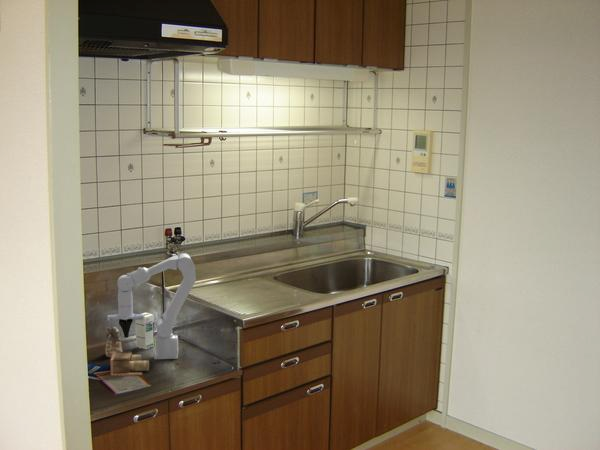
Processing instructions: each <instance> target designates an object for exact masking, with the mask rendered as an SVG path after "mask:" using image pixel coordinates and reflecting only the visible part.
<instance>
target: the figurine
mask: <svg viewBox="0 0 600 450" xmlns="http://www.w3.org/2000/svg"><path fill="white" fill-rule="evenodd" d="M106 330H107V333H106V339H107V341H106V344H105V352H104V353H105V356H106V357H108V358H112V355H113V353H114V352H124V351H123V350H124V349H123V346H122V341H121V339H122V333H121V332H120V330H119V328H117V327H116V326H113V327H112V328H110V327H109V326H108V327H107V328H106ZM109 335H110V336H109Z"/></svg>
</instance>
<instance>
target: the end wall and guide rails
mask: <svg viewBox="0 0 600 450" xmlns="http://www.w3.org/2000/svg"><path fill="white" fill-rule="evenodd" d="M115 354H116V352H114V353H113V355H112V357H110V363H109V364H110V375H111V374H113V375H114V376H113V375H112V376H113V377H127V376H129V377H130V376H131V377H132V376H143V372H130V373H114V370H113V359H114V357H115ZM117 375H118V376H117ZM120 375H121V376H120Z"/></svg>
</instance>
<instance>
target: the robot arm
mask: <svg viewBox="0 0 600 450" xmlns="http://www.w3.org/2000/svg"><path fill="white" fill-rule="evenodd" d="M166 270H174V271H177V270H179V271H180V272H181V275H182V277H183V279H181V282H180V284H179V286H178V288H177V290H176V292H174V296H173V297H172V298H171V300H170V302H169V305H168V306H167V308H166V310H165V311H164V312H163V314H162V315H161V316H160V317H159V318H158V319H157V320H156V321H155V328H156V332H155V346H154V347H155V352H154V355H153V356H154V357H153V360H174V359H175V360H177V359H178V357H179V353H180V351H179V350H180V349H179V335H177V334H173V327H174V325H175V322H176V319H177V316H178V315H179V313H180V310H181V309H182V307H183V305H184V304H185V301H186V299H187V297H188V296H189V294H190V292H191V290H192V288H193V287H194V285H195V283H196V281H197V273H196V265H195V264H194V260H192V257H191V256H190V255H189V254H188V253H187V252H181V253H179V254H176V255H173V256H171V257H169V258H166V259H164V260H162V261H160V262H158V263H156V264H155V265H151V266H150V267H148V268H147V267H144V266H143V267H138V268H137V269H136V270H134V271H131V272H127V273H126V274H123V275H120V276H119V278H118V279H117V281H116V283H117V287H118V290H117V292H118V294H117V305H118V314H117V313H116V314H108V315H107V317H106V319H107V321H108V322H110V321H118V324H119V326H120V328H121V330H122V332H123V337H124V339H125V338H129V335H130V334H129V333H130V330H131V326H132V324H133V321H135V320H144V314H142V313H134V305H133V304H134V301H133V291H132V288H133V287H136V286H139V285H142V284H143V283H146V282H148V281H150V279H151V277H152V276H154V275H156V274H159V273H163V272H164V271H166Z"/></svg>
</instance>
